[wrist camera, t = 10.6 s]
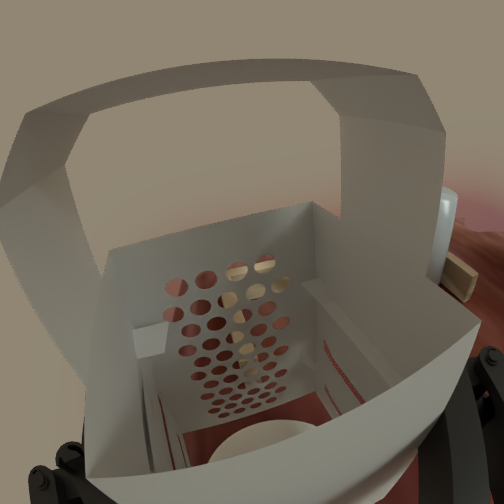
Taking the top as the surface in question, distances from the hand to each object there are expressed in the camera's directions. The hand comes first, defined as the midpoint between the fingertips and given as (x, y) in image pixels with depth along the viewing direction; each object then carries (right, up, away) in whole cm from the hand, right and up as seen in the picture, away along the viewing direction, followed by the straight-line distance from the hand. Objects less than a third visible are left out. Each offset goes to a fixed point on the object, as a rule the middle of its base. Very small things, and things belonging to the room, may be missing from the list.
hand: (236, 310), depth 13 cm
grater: (+2, -12, +2) cm, 12 cm away
